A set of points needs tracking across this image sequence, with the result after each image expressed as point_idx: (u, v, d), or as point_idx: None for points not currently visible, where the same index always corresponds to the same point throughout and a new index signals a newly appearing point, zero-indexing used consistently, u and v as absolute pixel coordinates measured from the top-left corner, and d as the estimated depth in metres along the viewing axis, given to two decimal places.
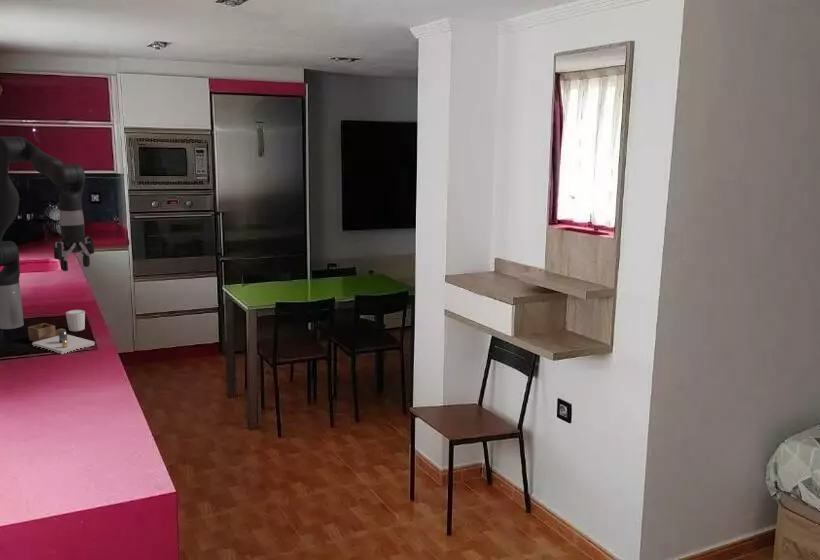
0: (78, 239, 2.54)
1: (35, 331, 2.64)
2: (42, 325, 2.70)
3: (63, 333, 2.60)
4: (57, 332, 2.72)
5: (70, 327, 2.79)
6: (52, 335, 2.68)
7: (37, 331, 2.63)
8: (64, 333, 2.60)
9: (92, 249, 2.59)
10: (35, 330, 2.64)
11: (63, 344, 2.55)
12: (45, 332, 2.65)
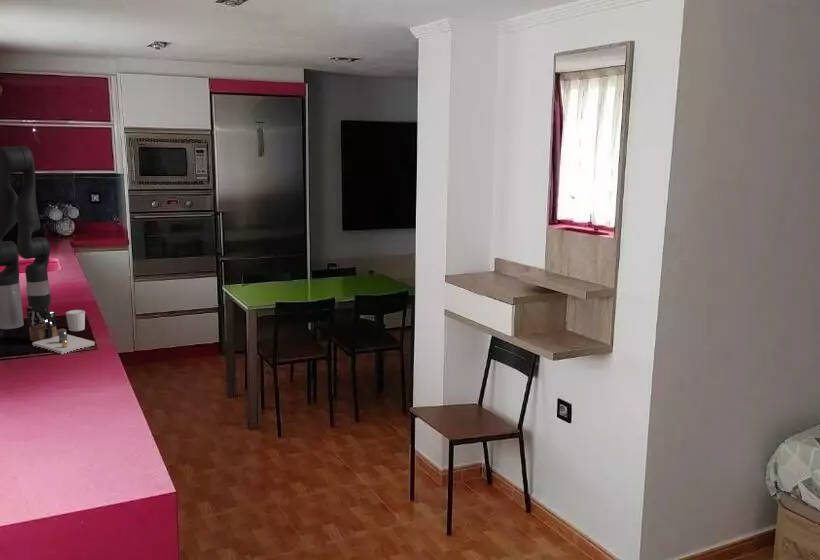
0: None
1: (36, 331, 2.64)
2: (43, 325, 2.70)
3: (63, 333, 2.60)
4: (58, 332, 2.71)
5: (70, 327, 2.79)
6: (53, 335, 2.68)
7: (38, 331, 2.63)
8: (64, 333, 2.60)
9: None
10: (36, 330, 2.64)
11: (63, 344, 2.55)
12: None
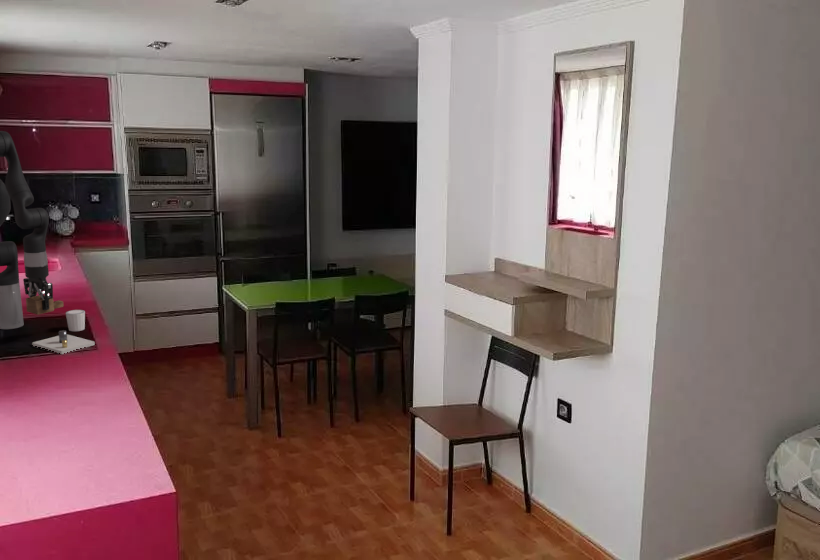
0: None
1: (33, 303, 2.62)
2: (40, 297, 2.68)
3: (63, 333, 2.60)
4: (55, 304, 2.70)
5: (70, 327, 2.79)
6: (50, 307, 2.66)
7: (35, 303, 2.62)
8: (64, 333, 2.60)
9: None
10: (33, 302, 2.62)
11: (63, 344, 2.55)
12: None
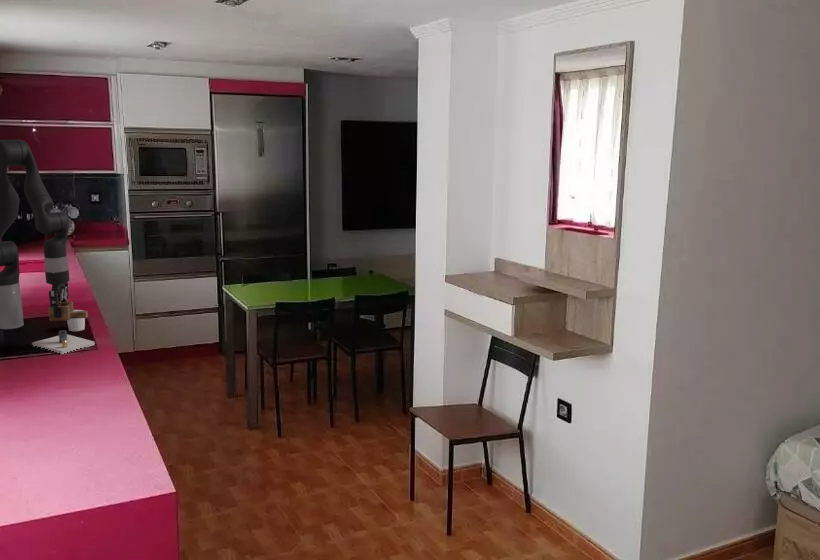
0: (62, 284, 2.58)
1: None
2: (68, 303, 2.61)
3: (63, 333, 2.60)
4: (76, 314, 2.59)
5: (70, 327, 2.79)
6: (64, 316, 2.57)
7: None
8: (64, 333, 2.60)
9: (68, 294, 2.64)
10: None
11: (63, 344, 2.55)
12: None
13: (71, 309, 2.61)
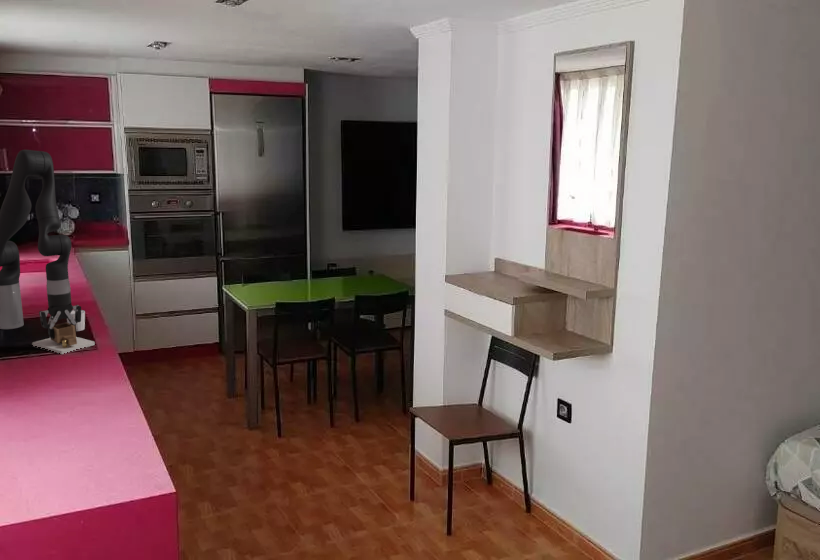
0: (64, 307, 2.59)
1: None
2: None
3: None
4: (65, 339, 2.57)
5: None
6: (56, 338, 2.58)
7: None
8: None
9: (79, 317, 2.63)
10: None
11: (63, 344, 2.55)
12: None
13: (69, 333, 2.59)
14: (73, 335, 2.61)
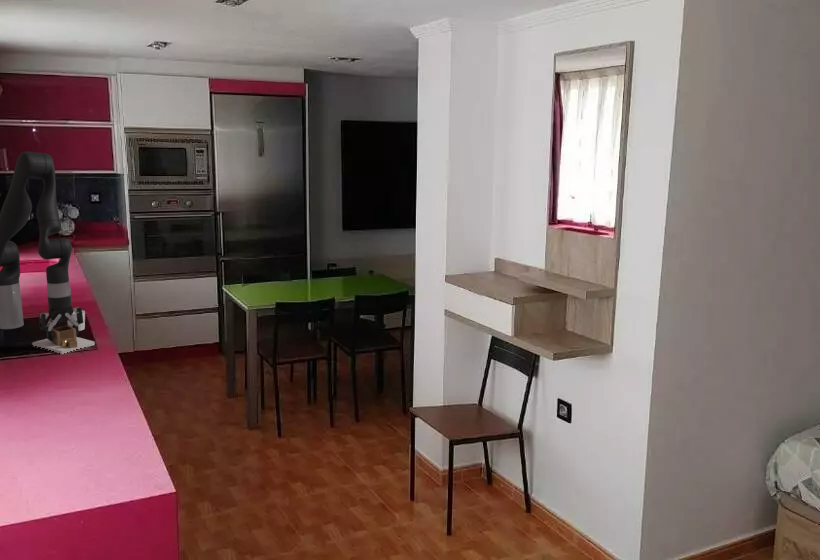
0: (65, 310, 2.59)
1: None
2: None
3: None
4: None
5: None
6: (56, 340, 2.58)
7: None
8: None
9: (81, 319, 2.64)
10: None
11: (63, 344, 2.55)
12: (53, 334, 2.59)
13: (70, 336, 2.60)
14: (74, 338, 2.61)
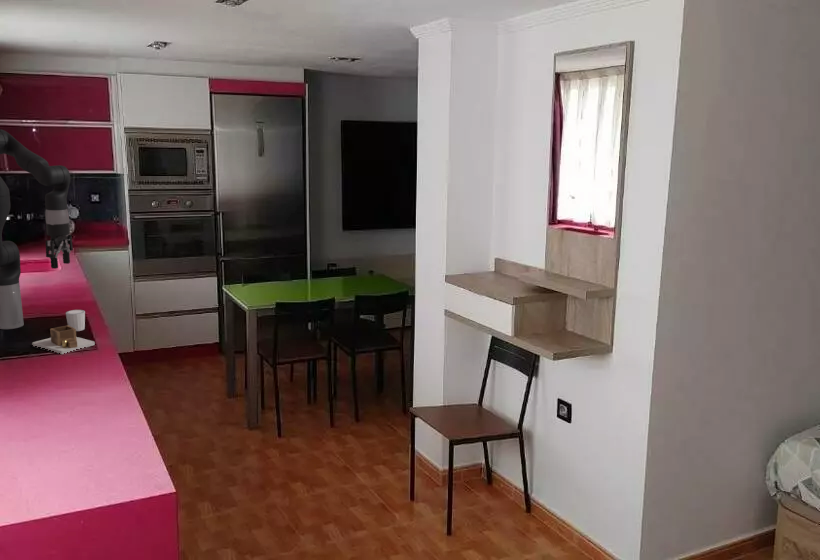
0: (63, 237, 2.64)
1: None
2: None
3: None
4: None
5: None
6: (56, 340, 2.58)
7: None
8: None
9: (71, 246, 2.70)
10: None
11: (63, 344, 2.55)
12: (53, 334, 2.59)
13: (70, 336, 2.60)
14: (74, 338, 2.61)
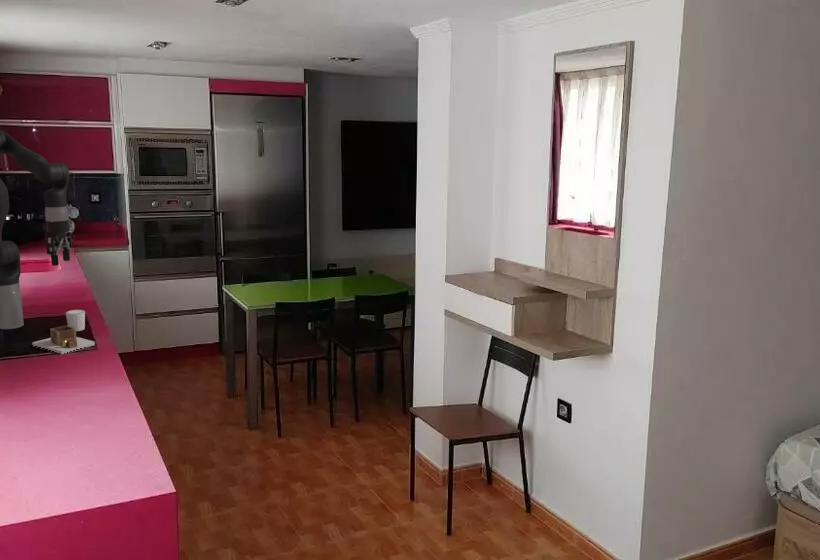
0: (63, 234, 2.65)
1: None
2: None
3: None
4: None
5: None
6: (56, 340, 2.58)
7: None
8: None
9: (71, 243, 2.71)
10: None
11: (63, 344, 2.55)
12: (53, 334, 2.59)
13: (70, 336, 2.60)
14: (74, 338, 2.61)
